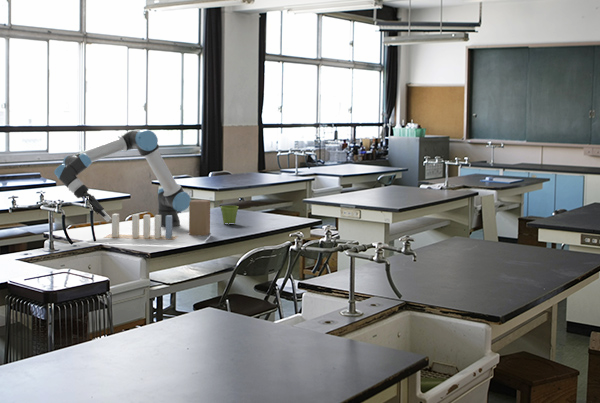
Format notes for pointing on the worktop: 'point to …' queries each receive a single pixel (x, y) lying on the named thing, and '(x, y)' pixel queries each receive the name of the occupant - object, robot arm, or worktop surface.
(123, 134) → the robot arm
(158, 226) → the tile
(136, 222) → the tile
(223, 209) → the plant pot
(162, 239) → the oak board
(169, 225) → the tile
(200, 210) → the wooden block
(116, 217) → the tile
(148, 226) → the tile
